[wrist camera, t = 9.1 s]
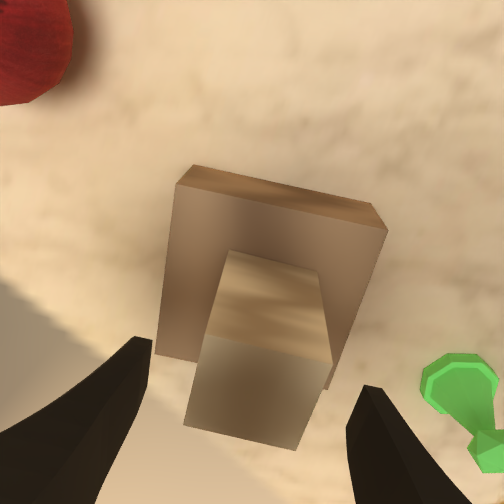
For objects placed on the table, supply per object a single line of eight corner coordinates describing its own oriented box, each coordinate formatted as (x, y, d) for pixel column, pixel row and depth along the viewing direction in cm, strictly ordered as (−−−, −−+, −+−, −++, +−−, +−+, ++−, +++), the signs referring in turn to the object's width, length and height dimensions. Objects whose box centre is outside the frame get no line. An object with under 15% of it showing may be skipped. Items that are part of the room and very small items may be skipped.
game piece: (508, 365, 23) (577, 456, 18) (466, 414, 25) (517, 510, 20) (443, 341, 23) (493, 427, 17) (405, 393, 25) (440, 485, 19)
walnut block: (369, 201, 20) (388, 230, 16) (320, 341, 24) (327, 389, 20) (195, 163, 20) (175, 183, 16) (174, 310, 24) (154, 353, 20)
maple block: (317, 271, 17) (332, 364, 12) (291, 342, 19) (295, 451, 14) (228, 249, 17) (204, 333, 12) (211, 322, 19) (183, 425, 14)
